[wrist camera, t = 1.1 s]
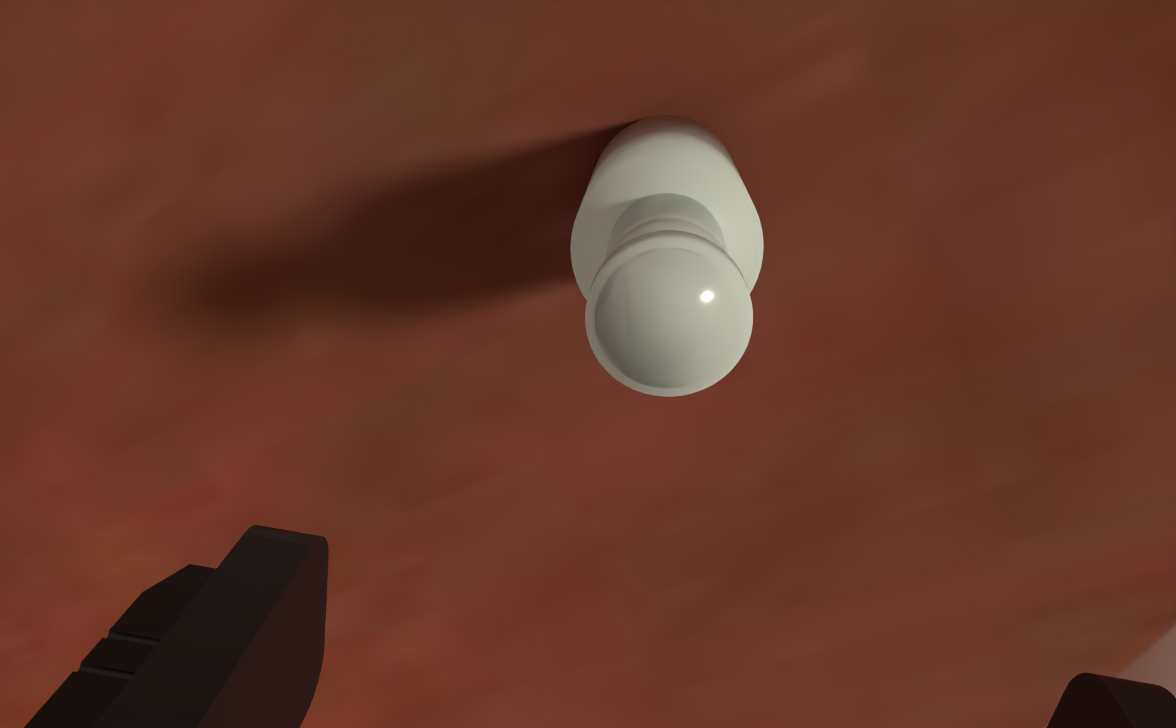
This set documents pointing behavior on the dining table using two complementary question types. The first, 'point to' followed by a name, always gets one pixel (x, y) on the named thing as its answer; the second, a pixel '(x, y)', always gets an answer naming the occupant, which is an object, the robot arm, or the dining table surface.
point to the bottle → (667, 257)
